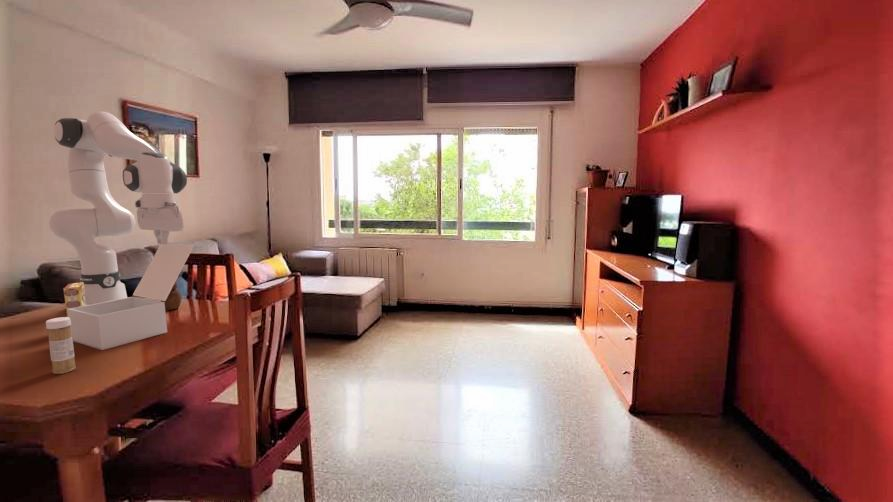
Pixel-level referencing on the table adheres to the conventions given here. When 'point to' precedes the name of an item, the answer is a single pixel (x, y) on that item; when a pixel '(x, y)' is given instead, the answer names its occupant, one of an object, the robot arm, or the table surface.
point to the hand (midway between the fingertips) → (162, 244)
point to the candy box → (74, 296)
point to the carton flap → (163, 271)
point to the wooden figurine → (173, 299)
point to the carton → (117, 322)
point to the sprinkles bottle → (61, 345)
